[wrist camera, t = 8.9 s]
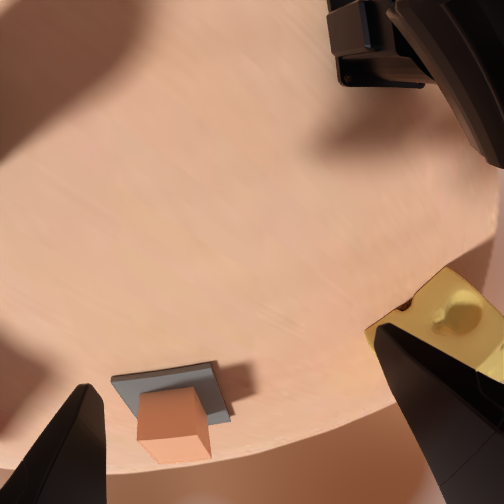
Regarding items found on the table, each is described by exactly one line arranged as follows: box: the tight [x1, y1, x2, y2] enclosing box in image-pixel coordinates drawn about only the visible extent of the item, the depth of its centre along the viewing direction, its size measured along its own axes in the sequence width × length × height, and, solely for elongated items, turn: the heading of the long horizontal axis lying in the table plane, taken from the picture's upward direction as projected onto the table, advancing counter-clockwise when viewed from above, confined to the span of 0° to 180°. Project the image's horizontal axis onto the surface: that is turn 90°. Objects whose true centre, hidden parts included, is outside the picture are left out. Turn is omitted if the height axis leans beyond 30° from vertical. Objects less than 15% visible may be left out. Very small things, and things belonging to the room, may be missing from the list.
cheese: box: [365, 266, 504, 382], centre depth 24 cm, size 10×11×10 cm
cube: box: [137, 387, 212, 464], centre depth 24 cm, size 5×5×5 cm
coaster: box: [111, 363, 231, 425], centre depth 27 cm, size 9×9×1 cm
